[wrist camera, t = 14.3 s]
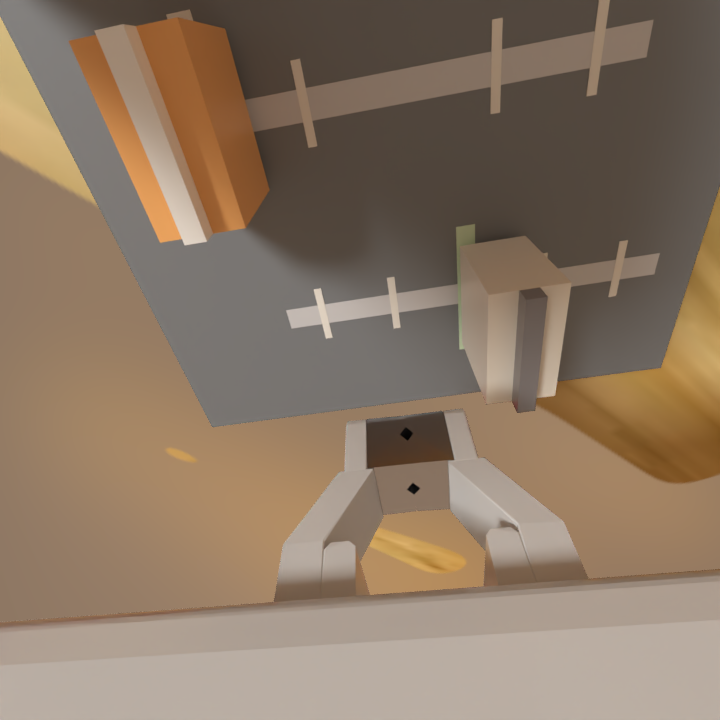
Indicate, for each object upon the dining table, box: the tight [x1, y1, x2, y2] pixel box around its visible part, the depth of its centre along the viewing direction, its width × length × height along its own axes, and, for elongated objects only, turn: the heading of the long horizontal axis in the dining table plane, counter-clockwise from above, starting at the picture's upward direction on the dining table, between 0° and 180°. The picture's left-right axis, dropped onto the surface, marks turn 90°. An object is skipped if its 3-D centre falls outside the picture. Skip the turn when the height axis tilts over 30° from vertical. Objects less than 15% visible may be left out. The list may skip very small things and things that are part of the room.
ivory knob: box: [460, 236, 572, 413], centre depth 15 cm, size 2×4×5 cm, turn 9°
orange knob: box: [69, 17, 270, 245], centre depth 11 cm, size 2×4×5 cm, turn 9°
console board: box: [0, 0, 720, 427], centre depth 16 cm, size 22×18×2 cm
